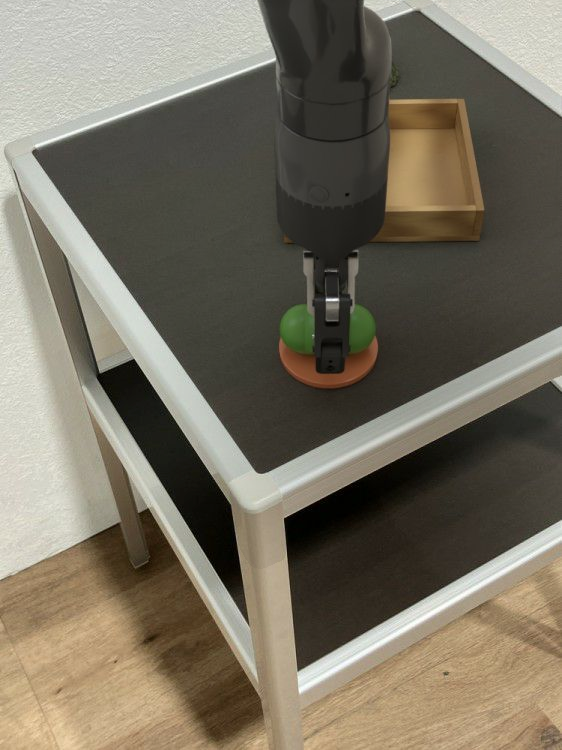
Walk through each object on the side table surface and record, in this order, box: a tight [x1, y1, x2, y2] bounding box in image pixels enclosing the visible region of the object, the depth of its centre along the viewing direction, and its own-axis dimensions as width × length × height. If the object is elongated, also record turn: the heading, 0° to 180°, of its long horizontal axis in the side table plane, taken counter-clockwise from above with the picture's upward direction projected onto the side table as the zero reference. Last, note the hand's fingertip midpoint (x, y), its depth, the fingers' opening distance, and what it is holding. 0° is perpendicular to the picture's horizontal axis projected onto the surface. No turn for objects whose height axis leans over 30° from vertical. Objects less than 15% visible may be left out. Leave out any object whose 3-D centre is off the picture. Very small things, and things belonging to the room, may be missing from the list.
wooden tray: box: [283, 98, 485, 244], centre depth 90 cm, size 17×16×4 cm
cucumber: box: [279, 303, 377, 354], centre depth 76 cm, size 8×4×4 cm, turn 89°
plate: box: [278, 335, 379, 390], centre depth 78 cm, size 8×8×1 cm
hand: (328, 331), depth 77 cm, fingers open, 7 cm apart
